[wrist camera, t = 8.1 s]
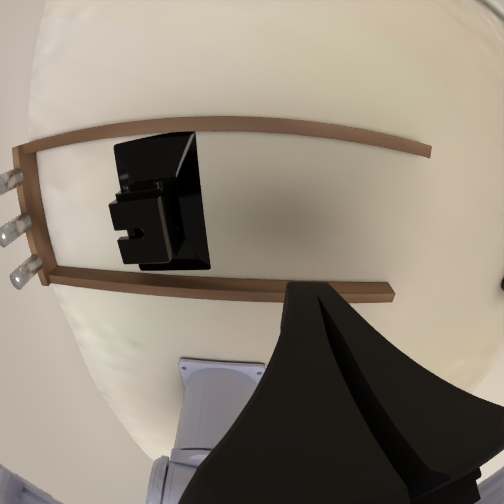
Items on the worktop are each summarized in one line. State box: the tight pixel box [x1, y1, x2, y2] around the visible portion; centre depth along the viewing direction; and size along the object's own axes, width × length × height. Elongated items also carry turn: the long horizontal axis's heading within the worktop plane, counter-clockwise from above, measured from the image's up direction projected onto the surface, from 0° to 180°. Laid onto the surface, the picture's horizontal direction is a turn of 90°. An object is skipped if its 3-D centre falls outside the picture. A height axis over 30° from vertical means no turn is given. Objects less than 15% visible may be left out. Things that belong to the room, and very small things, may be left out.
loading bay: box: [0, 116, 432, 303], centre depth 15 cm, size 12×29×5 cm, turn 88°
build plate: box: [109, 131, 211, 271], centre depth 15 cm, size 12×7×5 cm, turn 3°
